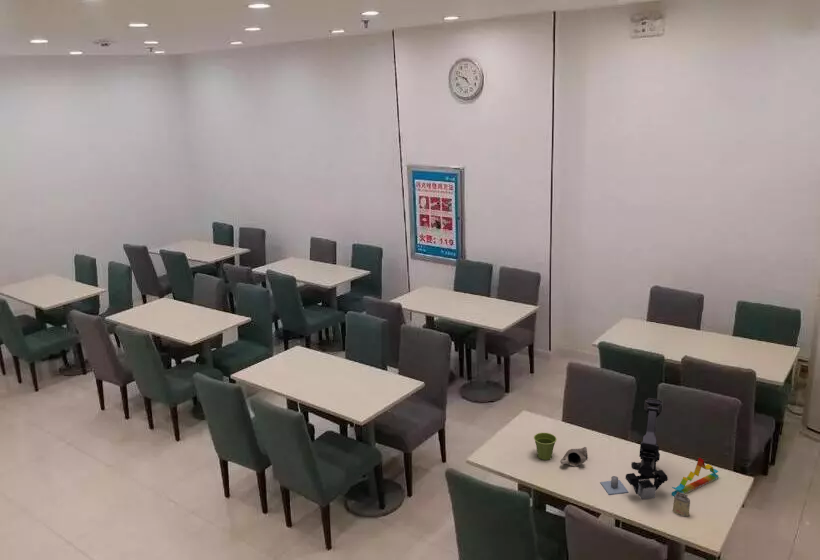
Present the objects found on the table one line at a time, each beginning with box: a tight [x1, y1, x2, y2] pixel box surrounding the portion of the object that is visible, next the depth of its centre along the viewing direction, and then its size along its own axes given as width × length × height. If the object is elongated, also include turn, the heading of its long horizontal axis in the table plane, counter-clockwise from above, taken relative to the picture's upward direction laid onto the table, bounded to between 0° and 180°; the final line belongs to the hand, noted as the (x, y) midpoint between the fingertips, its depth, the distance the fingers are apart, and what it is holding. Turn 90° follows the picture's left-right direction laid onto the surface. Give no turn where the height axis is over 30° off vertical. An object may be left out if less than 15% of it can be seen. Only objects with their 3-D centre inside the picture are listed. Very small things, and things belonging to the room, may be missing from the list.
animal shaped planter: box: [560, 446, 589, 467], centre depth 339 cm, size 16×9×15 cm
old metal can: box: [672, 492, 691, 517], centre depth 296 cm, size 7×4×10 cm, turn 53°
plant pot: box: [533, 432, 558, 461], centre depth 345 cm, size 12×12×11 cm
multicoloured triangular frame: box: [671, 457, 719, 497], centre depth 314 cm, size 30×3×15 cm, turn 119°
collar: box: [636, 479, 657, 500], centre depth 311 cm, size 7×7×6 cm
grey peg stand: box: [599, 475, 630, 496], centre depth 317 cm, size 10×10×6 cm
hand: (645, 492), depth 311 cm, fingers open, 9 cm apart
